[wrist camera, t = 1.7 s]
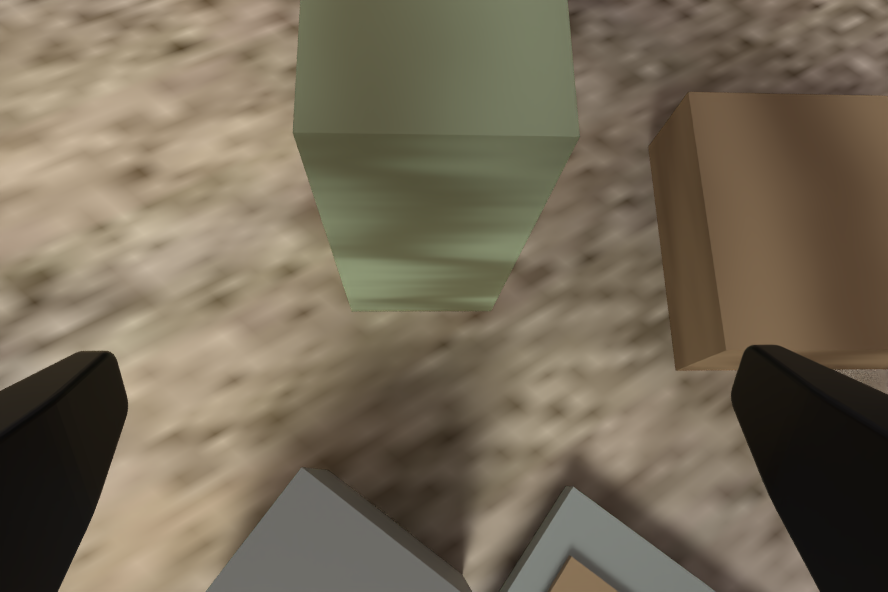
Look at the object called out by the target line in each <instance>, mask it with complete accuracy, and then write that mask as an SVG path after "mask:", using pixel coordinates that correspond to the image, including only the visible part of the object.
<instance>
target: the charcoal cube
mask: <svg viewBox="0 0 888 592" xmlns="http://www.w3.org/2000/svg"><path fill="white" fill-rule="evenodd" d="M206 592H472V590H471V589H470V587H469V585H468V584H467V582H466V580H465V578H464V577H463V575H462V574H461V573H460V572H458V571H457V570H456V569H454V568H453V567H452V566H451V565H449V564H448V563H447V562H445V561H444V560H443V559H442V558H440V557H439V556H438V555H436V554H435V553H434V552H433V551H431V550H430V549H429V548H427V547H426V546H425V545H424V544H422V543H421V542H420V541H418V540H417V539H416V538H415V537H413V536H412V535H411V534H409V533H408V532H407V531H406V530H404V529H403V528H402V527H400V526H399V525H398V524H397V523H395V522H394V521H393V520H391V519H390V518H389V517H388V516H386V515H385V514H384V513H382V512H381V511H380V510H379V509H377V508H376V507H375V506H374V505H372V504H371V503H370V502H368V501H367V500H366V499H365V498H363V497H362V496H361V495H359V494H358V493H357V492H356V491H354V490H353V489H352V488H350V487H349V486H348V485H347V484H345V483H344V482H343V481H341V480H340V479H339V478H338V477H336V476H335V475H334V474H332V473H331V472H330V471H329V470H323V469H314V468H305V467H301V469H300V470H299V471H298V473H297V474H296V475H295V476H294V478H293V479H292V480H291V482H290V483H289V484H288V485H287V487H286V488H285V489H284V491H283V492H282V493H281V495H280V496H279V497H278V498H277V500H276V501H275V502H274V504H273V505H272V506H271V508H270V509H269V510H268V511H267V513H266V514H265V515H264V517H263V518H262V519H261V520H260V522H259V523H258V524H257V526H256V527H255V528H254V530H253V531H252V532H251V533H250V535H249V536H248V537H247V539H246V540H245V541H244V543H243V544H242V545H241V546H240V548H239V549H238V550H237V552H236V553H235V554H234V555H233V557H232V558H231V559H230V561H229V562H228V563H227V565H226V566H225V567H224V568H223V570H222V571H221V572H220V574H219V575H218V576H217V578H216V579H215V580H214V581H213V583H212V584H211V585H210V587H209V588H208V589H207V590H206Z"/></svg>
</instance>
